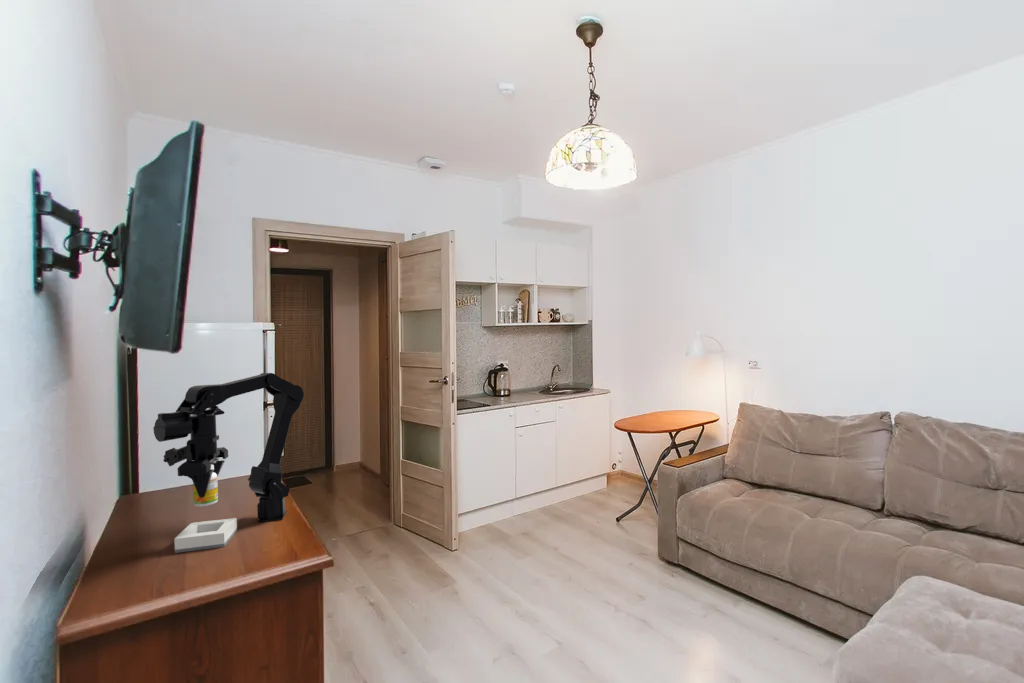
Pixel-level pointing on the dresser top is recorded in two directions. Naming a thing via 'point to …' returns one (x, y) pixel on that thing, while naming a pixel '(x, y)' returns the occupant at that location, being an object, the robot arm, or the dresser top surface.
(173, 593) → the dresser top surface
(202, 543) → the socket block
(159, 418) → the robot arm
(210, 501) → the supplement bottle
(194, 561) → the dresser top surface
